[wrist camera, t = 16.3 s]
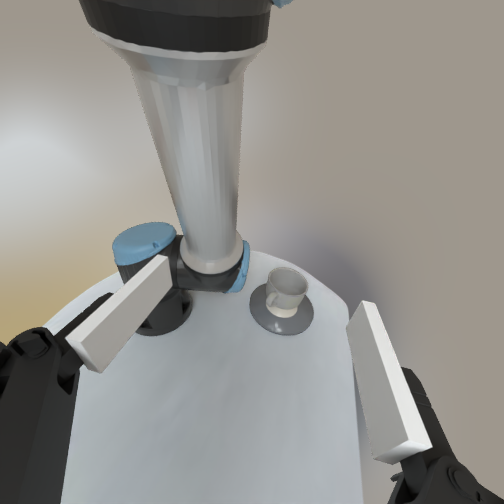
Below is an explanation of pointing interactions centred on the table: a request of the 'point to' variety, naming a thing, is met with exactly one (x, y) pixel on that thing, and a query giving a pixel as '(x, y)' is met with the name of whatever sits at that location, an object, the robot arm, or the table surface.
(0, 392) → the robot arm
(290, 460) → the table surface
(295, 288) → the teacup
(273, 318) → the saucer
